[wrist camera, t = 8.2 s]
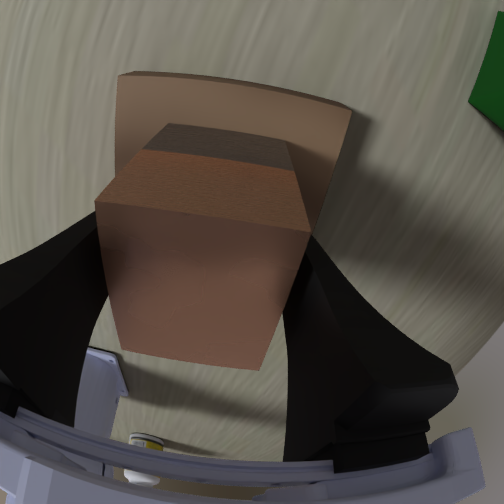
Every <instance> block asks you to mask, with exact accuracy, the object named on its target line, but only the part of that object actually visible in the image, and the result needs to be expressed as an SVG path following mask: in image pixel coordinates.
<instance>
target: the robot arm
mask: <svg viewBox="0 0 504 504" xmlns="http://www.w3.org/2000/svg"><path fill="white" fill-rule="evenodd" d="M108 295H109V294H108V289H107V284H106V279H105V273H104V268H103V262H102V256H101V250H100V243H99V236H98V228H97V220H96V211H94V212H93V213H91V214H89V215H88V216H86V217H85V218H83V219H82V220H80V221H78V222H77V223H75V224H74V225H72V226H71V227H69V228H68V229H66V230H64V231H63V232H61V233H59V234H58V235H56V236H54V237H53V238H51V239H49V240H48V241H46V242H44V243H43V244H41V245H39V246H37V247H36V248H34V249H32V250H30V251H28V252H26V253H24V254H22V255H20V256H18V257H16V258H14V259H11V260H9V261H7V262H5V263H3V264H0V489H2V490H3V491H5V492H6V493H7V498H6V503H5V504H455V503H457V502H459V501H461V500H463V499H465V498H467V497H469V496H471V495H473V494H475V493H477V492H479V491H480V490H482V489H484V488H485V481H484V476H483V471H482V466H481V462H480V458H479V453H478V450H477V446H476V442H475V438H474V434H473V431H472V428H471V427H468V428H465V429H462V430H459V431H455V432H451V433H448V434H446V435H444V436H442V437H440V438H438V439H437V440H435V441H434V442H432V444H429V445H428V443H427V438H426V435H425V432H428V431H429V430H430V425H429V421H428V419H430V418H431V417H433V416H434V415H435V414H437V413H438V412H439V411H441V410H442V409H443V408H445V407H446V406H447V405H448V404H449V403H451V402H452V401H453V399H454V398H455V397H456V395H457V393H458V390H459V388H458V385H457V382H456V379H455V376H454V374H453V371H452V368H451V365H450V364H449V363H447V362H445V361H444V360H442V359H440V358H439V357H437V356H436V355H434V354H432V353H431V352H429V351H427V350H426V349H424V348H423V347H421V346H420V345H419V344H417V343H416V342H414V341H413V340H411V339H410V338H409V337H407V336H406V335H405V334H403V333H402V332H401V331H400V330H398V329H397V328H396V327H395V326H394V325H392V324H391V323H390V322H389V321H388V320H386V319H385V318H384V317H383V316H382V315H381V314H380V313H379V312H378V311H377V310H376V309H374V308H373V307H372V306H371V305H370V304H369V303H368V302H367V301H366V300H365V299H364V298H363V297H362V296H361V294H360V293H359V292H358V291H357V290H356V289H355V288H354V287H353V286H352V284H351V283H350V282H349V281H348V280H347V279H346V277H345V276H344V275H343V274H342V273H341V271H340V270H339V269H338V268H337V266H336V265H335V264H334V263H333V261H332V260H331V259H330V257H329V256H328V255H327V254H326V252H325V251H324V250H323V248H322V247H321V246H320V244H319V243H318V242H317V241H316V239H315V238H314V237H313V236H312V235H310V238H309V241H308V244H307V246H306V249H305V252H304V255H303V258H302V260H301V263H300V266H299V269H298V271H297V274H296V277H295V280H294V282H293V285H292V288H291V290H290V293H289V296H288V298H287V301H286V304H285V306H284V309H283V312H282V313H283V321H284V329H285V337H286V345H287V355H288V399H287V420H286V435H285V446H284V455H283V462H261V461H239V460H226V459H215V458H206V457H197V456H190V455H183V454H177V453H171V452H165V451H160V450H154V449H149V448H145V447H140V446H136V445H131V444H127V443H123V442H119V441H115V440H111V439H109V438H110V435H111V432H112V427H113V423H114V419H115V414H116V410H117V406H118V402H119V398H120V395H122V396H128V394H129V393H128V390H127V387H126V384H125V382H124V379H123V376H122V373H121V370H120V367H119V364H118V360H117V357H116V356H115V355H114V354H112V353H109V352H105V351H101V350H97V349H93V348H89V347H88V345H89V342H90V338H91V335H92V332H93V329H94V326H95V324H96V321H97V319H98V316H99V314H100V312H101V310H102V308H103V305H104V303H105V301H106V299H107V297H108ZM113 466H115V467H119V468H123V469H127V470H131V471H135V472H139V473H144V474H149V475H153V476H159V477H164V478H170V479H176V480H183V481H190V482H198V483H206V484H218V485H230V486H251V487H285V488H275V489H267V490H266V491H265V494H263V495H257V496H254V497H253V498H252V501H249V500H233V499H223V498H213V497H204V496H197V495H190V494H183V493H176V492H171V491H165V490H160V489H155V488H150V487H145V486H141V485H136V484H132V483H128V482H124V481H120V480H116V479H113V474H114V470H113ZM289 486H294V487H289Z"/></svg>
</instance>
